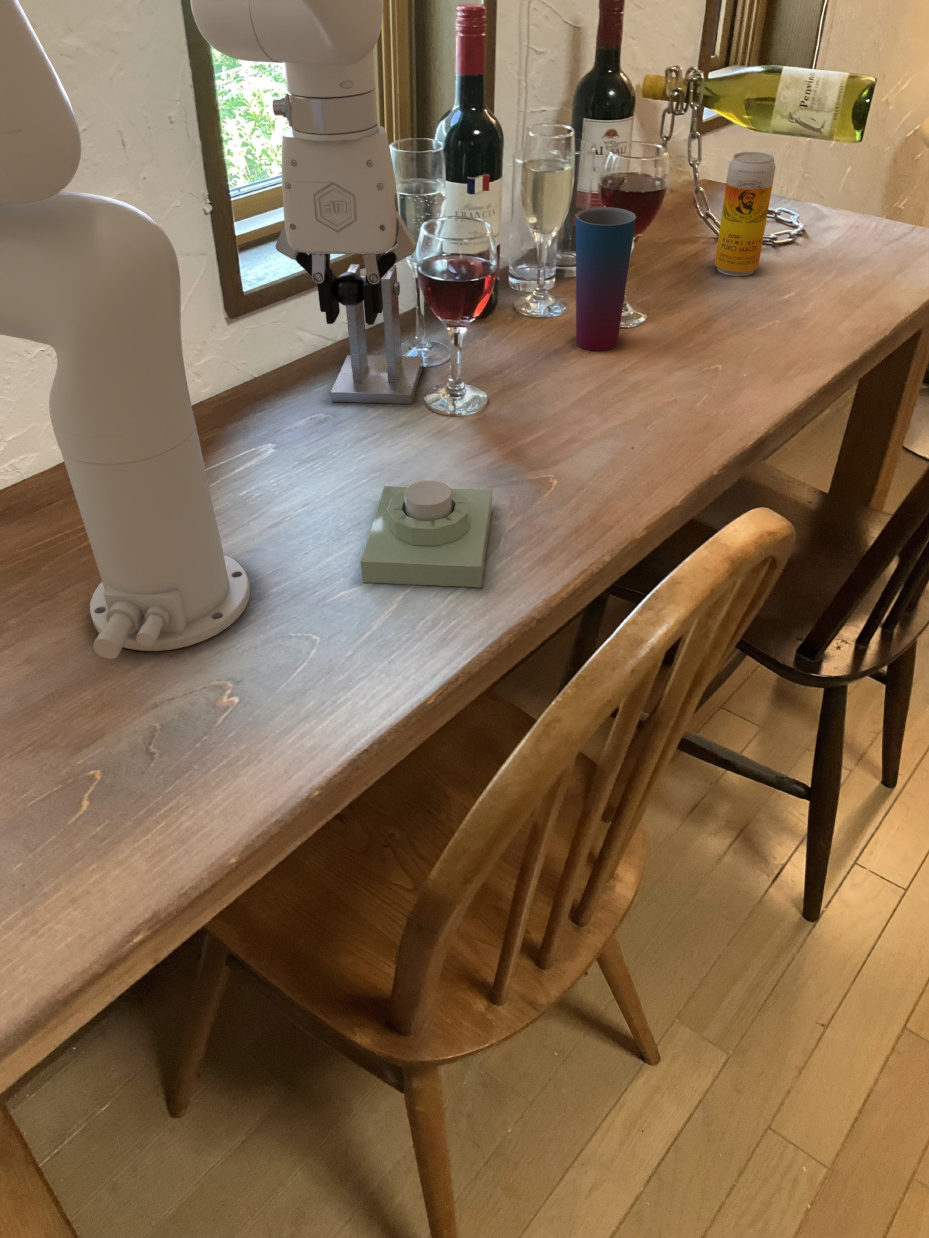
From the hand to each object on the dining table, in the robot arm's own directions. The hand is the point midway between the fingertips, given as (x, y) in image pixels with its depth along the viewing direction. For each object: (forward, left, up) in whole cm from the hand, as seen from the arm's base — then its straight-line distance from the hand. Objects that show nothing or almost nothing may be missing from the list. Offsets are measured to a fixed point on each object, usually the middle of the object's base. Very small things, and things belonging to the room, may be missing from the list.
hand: (352, 317), depth 95 cm
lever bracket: (+10, 0, -12) cm, 16 cm away
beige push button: (-22, -10, -8) cm, 25 cm away
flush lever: (+5, 0, 0) cm, 5 cm away
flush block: (-22, -10, -12) cm, 27 cm away
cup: (+23, -25, -12) cm, 36 cm away
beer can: (+50, -45, -12) cm, 69 cm away
